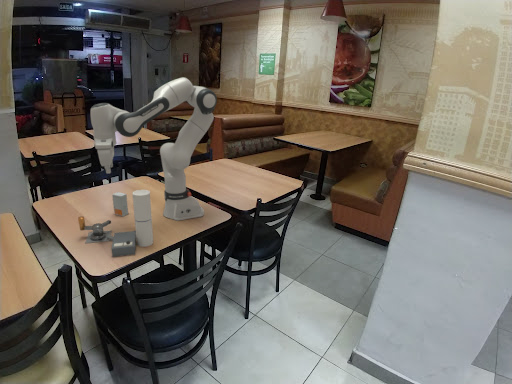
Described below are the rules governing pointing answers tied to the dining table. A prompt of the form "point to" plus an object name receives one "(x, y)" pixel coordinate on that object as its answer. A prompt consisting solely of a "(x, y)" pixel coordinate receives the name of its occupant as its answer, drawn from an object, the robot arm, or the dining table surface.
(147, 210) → the cylindrical container
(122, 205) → the skincare box
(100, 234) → the capstan
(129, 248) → the stand
